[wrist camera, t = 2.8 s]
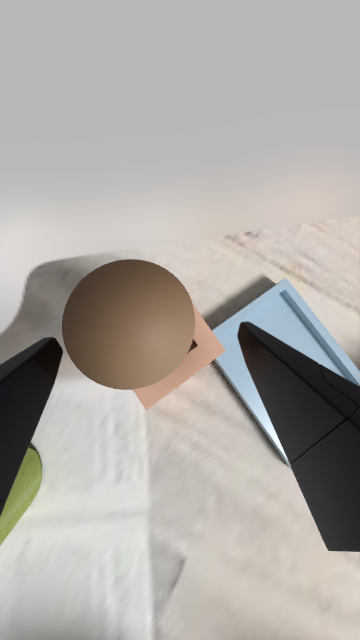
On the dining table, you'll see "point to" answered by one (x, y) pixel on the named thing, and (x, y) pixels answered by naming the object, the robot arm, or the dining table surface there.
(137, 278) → the peg
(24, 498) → the plant pot
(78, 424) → the dining table surface
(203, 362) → the holder
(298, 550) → the dining table surface
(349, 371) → the tray
